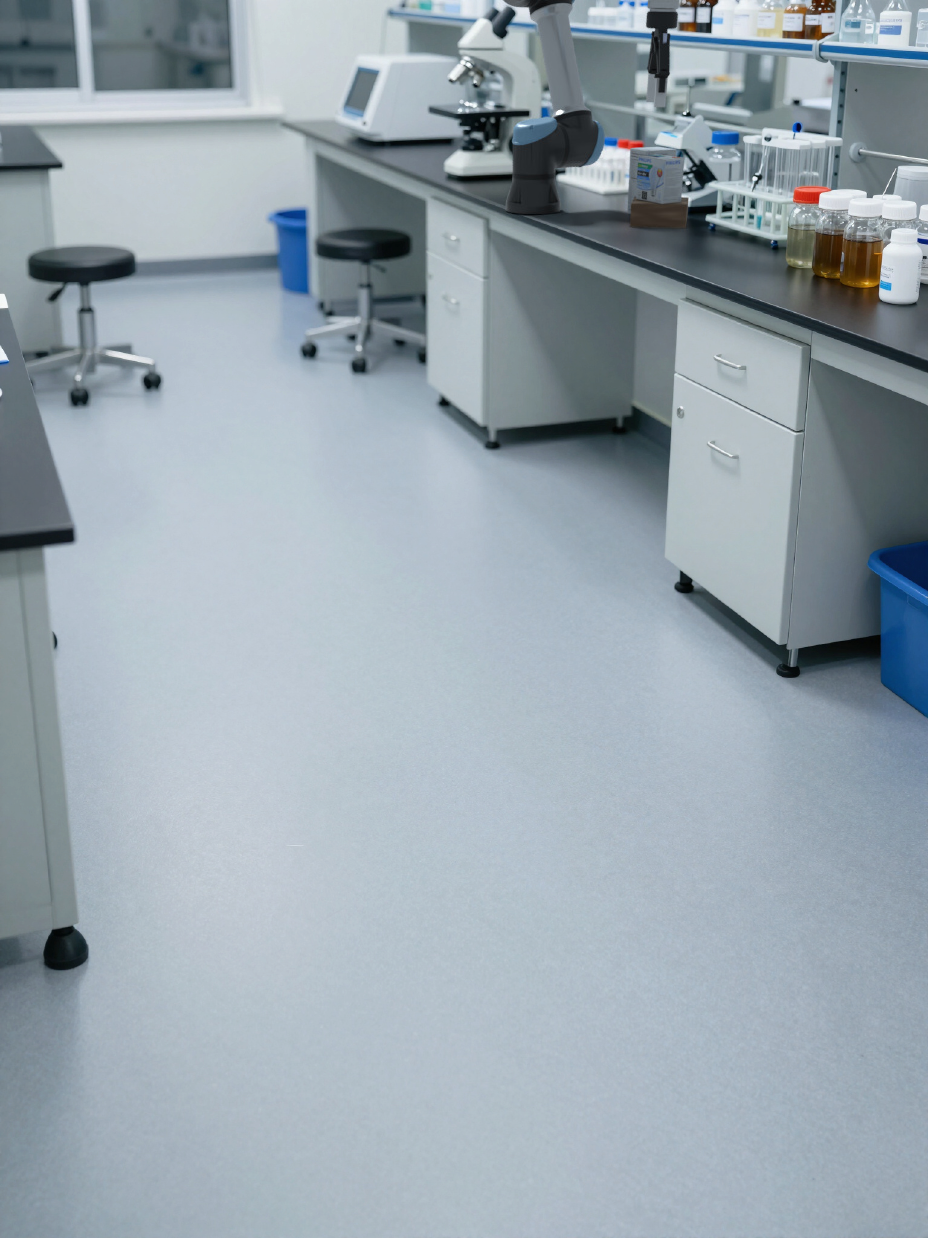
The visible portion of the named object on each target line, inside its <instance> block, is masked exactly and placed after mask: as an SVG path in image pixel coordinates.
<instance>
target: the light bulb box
mask: <svg viewBox="0 0 928 1238" xmlns="http://www.w3.org/2000/svg"><path fill="white" fill-rule="evenodd" d="M684 165H685V157H682V156H676V157H675V156H667V155H660V154H653V155H642V156H638V171H637V188H636V199H639V200H644V201H649V202H654V203H659V204H667V203H676V202H681V197H682V196H683V195H682V193H683V182H684V181H683V179H684Z"/></svg>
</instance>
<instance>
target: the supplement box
mask: <svg viewBox="0 0 928 1238" xmlns="http://www.w3.org/2000/svg"><path fill="white" fill-rule="evenodd" d="M653 154H660V155H667V156H675V157H677V148H676V149H675V148H671V147H668V148H667V147H665V146H664V147H663V146H651V147H650V146H648V147H631V148H630V149H629V165H628V166H629V169H628V192H627V193H628V194H627V195H628V196H627V212H626V213H627V214H629V215H631V203H632V201H633V199H634V197H635V196H636V188H637V171H638V156H642V155H653Z"/></svg>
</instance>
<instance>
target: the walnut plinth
mask: <svg viewBox="0 0 928 1238" xmlns="http://www.w3.org/2000/svg"><path fill="white" fill-rule="evenodd" d="M688 211H689V197H681V202H676V203H667V204H659V203H654V202H649V201H644V200H639V199H636V196H635V197H634V199H633V201H632V203H631V214H630V219H629V220H630V221H629V227H630V228H662V229H663V228H665V229H666V228H667V229H668V228H669V229H670V228H671V229H686V227H687V223H688Z"/></svg>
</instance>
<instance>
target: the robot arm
mask: <svg viewBox="0 0 928 1238" xmlns="http://www.w3.org/2000/svg"><path fill="white" fill-rule="evenodd" d="M502 1H503V2H504V3H505V4H507V5H509V6H510V7H515V8H528V11H529V15H530V20H532V21H533V22H535V23H536V24H537V29H538V34H539V40H540V44H541V45H540V46H541V51H542V56H543V57H542V58H543V62H544V63H543V64H544V69H545V75H546V79H547V85H548V90H549V95H550V101H551V107H552V111H553V112H552V113H553V114H552V115H551V117H538V118H537V117H536V118H529V119H524V120H521V121H519V122H517V123H516V124H515V125H514V127H513V132H512V138H511V139H512V140H511V142H512V178H511V179H512V180H511V181H512V182H511V184H510V188H509V191H508V194H507V197H506V201H505V211H506V212H508V213H512V214H513V213H514V214H522V215H524V214H525V215H544V214H545V215H546V214H554V213H559V212H561V209H562V208H561V207H562V203H561V199H560V194H559V191H558V188H557V183H556V169H565V168H583V167H586V166H591V165H594V164H595V163H596V162H597V161H598V160H599V159H600V157H601V155H602V152H603V150H604V147H605V142H606V141H605V130H604V128H603V125H602V124H601V123H600V122H599V121H597V120H595V119H593V115H592V110H591V109H589V108H588V107H587V106H586V105H585V101H584V97H583V91H582V84H581V80H580V74H579V69H578V67H579V66H578V63H577V62H578V61H577V57H576V51H575V46H574V45H575V44H574V39H573V32H572V29H571V22H570V18H569V17H570V16H569V15H570V14H571V12H572V11H573V8H574V7H573V4H574V3H575V1H576V0H502ZM679 7H680V0H647V9H649V10H648V11H647V12H646V18H645V19H646V21H645V24H646V25H645V27H646V28H647V29H654V30H652V32H651V34H650V35H651V38H650V39H651V40H650V47H649V55H648V62H647V67H646V69H647V72H648V73H647V83H646V84H647V87H646V100H645V102H646V103H653V105H654V106H653V108H666V105H667V90H668V79H669V76H670V74H671V72H670V63H671V62H670V61H671V60H670V56H671V54H670V52H671V51H670V49H671V33H670V32H669V33H668V30H669V29H671V30H673V29H676V28H678V20H679V19H678V18H679V13H678V12H677V10H679Z"/></svg>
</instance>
